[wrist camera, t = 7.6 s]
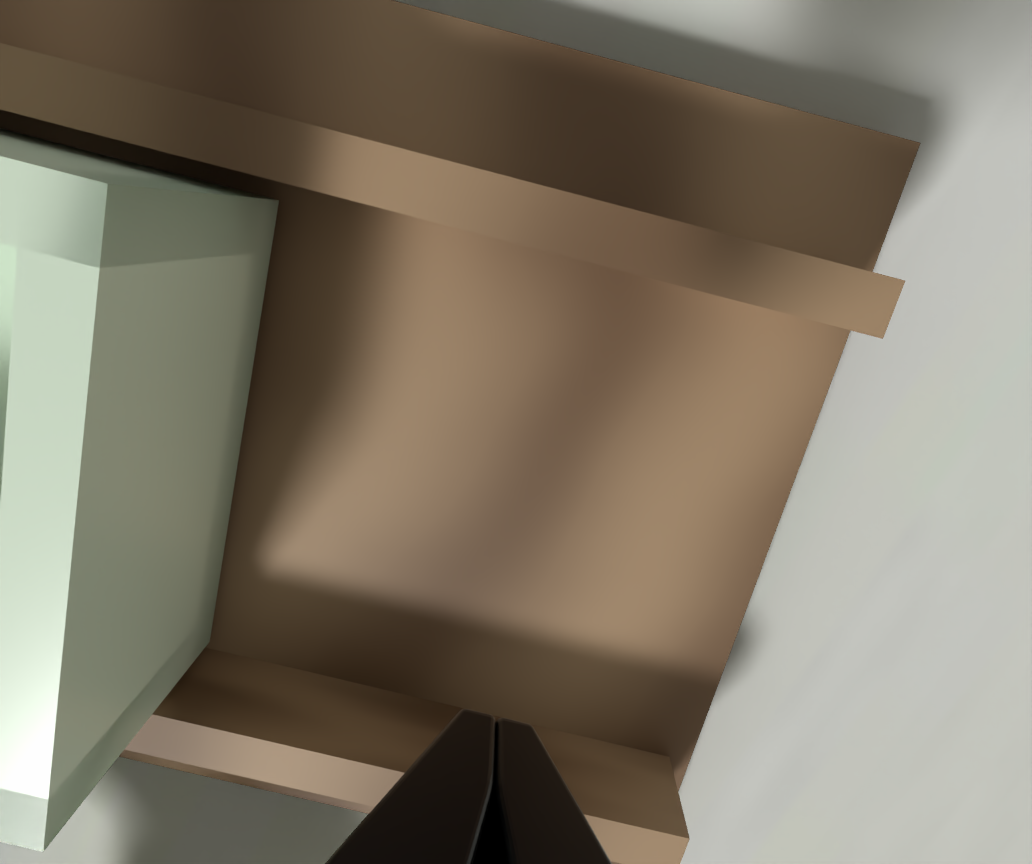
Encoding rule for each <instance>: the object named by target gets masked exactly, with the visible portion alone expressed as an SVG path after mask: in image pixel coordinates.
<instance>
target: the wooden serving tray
mask: <svg viewBox="0 0 1032 864" xmlns="http://www.w3.org/2000/svg"><path fill="white" fill-rule="evenodd" d="M0 128H2V129H6V130H10V131H13V132H17V133H21V134H25V135H29V136H33V137H37V138H41V139H44V140H48V141H52V142H56V143H60V144H64V145H68V146H71V147H75V148H79V149H83V150H87V151H91V152H95V153H99V154H102V155H106V156H110V157H114V158H118V159H122V160H126V161H129V162H133V163H137V164H141V165H145V166H149V167H153V168H156V169H160V170H164V171H168V172H172V173H176V174H180V175H184V176H187V177H191V178H195V179H199V180H203V181H207V182H211V183H214V184H218V185H222V186H226V187H230V188H234V189H238V190H242V191H245V192H249V193H253V194H257V195H261V196H265V197H269V198H272V199H276V200H279V204H278V210H277V216H276V223H275V229H274V236H273V242H272V248H271V255H270V261H269V267H268V274H267V280H266V286H265V293H264V299H263V306H262V312H261V318H260V325H259V331H258V337H257V344H256V350H255V357H254V363H253V369H252V376H251V382H250V388H249V395H248V401H247V407H246V414H245V420H244V427H243V433H242V439H241V446H240V452H239V458H238V465H237V471H236V478H235V484H234V490H233V497H232V503H231V509H230V516H229V522H228V528H227V535H226V541H225V548H224V554H223V560H222V567H221V573H220V579H219V586H218V592H217V599H216V605H215V611H214V618H213V624H212V630H211V637H210V642H209V643H208V644H207V646H206V647H205V648H204V649H203V651H202V652H201V653H200V654H199V656H198V657H197V658H196V659H195V661H194V662H193V663H192V665H191V666H190V667H189V668H188V670H187V671H186V672H185V673H184V675H183V676H182V677H181V678H180V680H179V681H178V682H177V683H176V685H175V686H174V687H173V689H172V690H171V691H170V692H169V694H168V695H167V696H166V697H165V699H164V700H163V701H162V702H161V704H160V705H159V706H158V707H157V709H156V710H155V711H154V712H153V714H152V715H151V716H150V718H149V719H148V720H147V721H146V723H145V724H144V725H143V726H142V728H141V729H140V730H139V731H138V733H137V734H136V735H135V736H134V738H133V739H132V740H131V742H130V743H129V744H128V745H127V747H126V748H125V749H124V750H123V752H122V753H121V754H120V755H119V757H124V758H128V759H132V760H137V761H141V762H145V763H150V764H154V765H158V766H163V767H167V768H172V769H176V770H180V771H185V772H189V773H193V774H198V775H202V776H206V777H211V778H215V779H220V780H224V781H228V782H233V783H237V784H241V785H246V786H250V787H254V788H259V789H263V790H268V791H272V792H276V793H281V794H285V795H289V796H294V797H298V798H302V799H307V800H311V801H316V802H320V803H324V804H329V805H333V806H337V807H342V808H346V809H350V810H355V811H359V812H364V813H368V814H369V813H370V812H371V811H372V810H373V809H374V807H375V806H376V805H377V804H378V803H379V802H380V801H381V799H382V798H383V797H384V796H385V795H386V794H387V793H388V792H389V790H390V789H391V788H392V787H393V786H394V785H395V784H396V782H397V781H398V780H399V779H400V778H401V777H402V776H403V774H404V773H405V772H406V771H407V770H408V769H409V768H410V767H411V765H412V764H413V763H414V762H415V761H416V760H417V759H418V757H419V756H420V755H421V754H422V753H423V752H424V751H425V749H426V748H427V747H428V746H429V745H430V744H431V743H432V742H433V740H434V739H435V738H436V737H437V736H438V735H439V734H440V732H441V731H442V730H443V729H444V728H445V727H446V726H447V724H448V723H449V722H450V721H451V720H452V719H453V718H454V717H455V715H456V714H457V713H458V712H459V711H460V710H462V709H470V710H474V711H478V712H482V713H486V714H490V715H493V717H494V718H495V720H496V721H497V720H498V719H499V718H507V719H512V720H516V721H520V722H524V723H528V724H530V725H532V726H533V727H534V729H535V731H536V732H537V734H538V736H539V737H540V739H541V741H542V743H543V744H544V746H545V748H546V750H547V751H548V753H549V755H550V757H551V758H552V760H553V762H554V764H555V765H556V767H557V769H558V771H559V772H560V774H561V776H562V778H563V779H564V781H565V783H566V784H567V786H568V788H569V790H570V791H571V793H572V795H573V797H574V798H575V800H576V802H577V804H578V805H579V807H580V809H581V811H582V812H583V814H584V816H585V818H586V819H587V821H588V823H589V824H590V826H591V828H592V830H593V831H594V833H595V835H596V837H597V838H598V840H599V842H600V844H601V845H602V847H603V849H604V851H605V852H606V854H607V856H608V858H609V859H610V861H611V863H612V864H680V862H681V860H682V857H683V854H684V852H685V849H686V847H687V844H688V842H689V834H688V830H687V826H686V822H685V818H684V814H683V810H682V806H681V802H680V798H679V794H678V791H679V788H680V785H681V783H682V780H683V777H684V775H685V772H686V769H687V767H688V764H689V761H690V759H691V756H692V753H693V751H694V748H695V745H696V743H697V740H698V737H699V735H700V732H701V729H702V727H703V724H704V721H705V719H706V716H707V713H708V710H709V708H710V705H711V702H712V700H713V697H714V694H715V692H716V689H717V686H718V684H719V681H720V678H721V676H722V673H723V670H724V668H725V665H726V662H727V660H728V657H729V654H730V652H731V649H732V646H733V644H734V641H735V638H736V636H737V633H738V630H739V627H740V625H741V622H742V619H743V617H744V614H745V611H746V609H747V606H748V603H749V601H750V598H751V595H752V593H753V590H754V587H755V585H756V582H757V579H758V577H759V574H760V571H761V569H762V566H763V563H764V561H765V558H766V555H767V552H768V550H769V547H770V544H771V542H772V539H773V536H774V534H775V531H776V528H777V526H778V523H779V520H780V518H781V515H782V512H783V510H784V507H785V504H786V502H787V499H788V496H789V494H790V491H791V488H792V486H793V483H794V480H795V478H796V475H797V472H798V469H799V467H800V464H801V461H802V459H803V456H804V453H805V451H806V448H807V445H808V443H809V440H810V437H811V435H812V432H813V429H814V427H815V424H816V421H817V419H818V416H819V413H820V411H821V408H822V405H823V403H824V400H825V397H826V395H827V392H828V389H829V386H830V384H831V381H832V378H833V376H834V373H835V370H836V368H837V365H838V362H839V360H840V357H841V354H842V352H843V349H844V346H845V344H846V341H847V338H848V336H849V333H850V330H851V331H855V332H859V333H863V334H867V335H871V336H875V337H878V338H882V339H883V337H884V334H885V332H886V329H887V327H888V324H889V321H890V319H891V316H892V314H893V311H894V309H895V306H896V303H897V301H898V298H899V296H900V293H901V290H902V288H903V285H904V283H905V281H904V280H901V279H897V278H893V277H889V276H885V275H882V274H878V273H874V272H872V271H873V269H874V266H875V263H876V261H877V258H878V255H879V253H880V250H881V247H882V245H883V242H884V239H885V237H886V234H887V231H888V229H889V226H890V223H891V220H892V218H893V215H894V212H895V210H896V207H897V204H898V202H899V199H900V196H901V194H902V191H903V188H904V186H905V183H906V180H907V178H908V175H909V172H910V170H911V167H912V164H913V162H914V159H915V156H916V154H917V151H918V148H919V146H920V143H919V142H915V141H912V140H908V139H904V138H900V137H897V136H893V135H889V134H886V133H882V132H878V131H875V130H871V129H867V128H863V127H860V126H856V125H852V124H849V123H845V122H841V121H838V120H834V119H830V118H826V117H823V116H819V115H815V114H812V113H808V112H804V111H800V110H797V109H793V108H789V107H786V106H782V105H778V104H775V103H771V102H767V101H763V100H760V99H756V98H752V97H749V96H745V95H741V94H738V93H734V92H730V91H726V90H723V89H719V88H715V87H712V86H708V85H704V84H701V83H697V82H693V81H689V80H686V79H682V78H678V77H675V76H671V75H667V74H664V73H660V72H656V71H652V70H649V69H645V68H641V67H638V66H634V65H630V64H627V63H623V62H619V61H615V60H612V59H608V58H604V57H601V56H597V55H593V54H590V53H586V52H582V51H578V50H575V49H571V48H567V47H564V46H560V45H556V44H553V43H549V42H545V41H541V40H538V39H534V38H530V37H527V36H523V35H519V34H516V33H512V32H508V31H504V30H501V29H497V28H493V27H490V26H486V25H482V24H479V23H475V22H471V21H467V20H464V19H460V18H456V17H453V16H449V15H445V14H442V13H438V12H434V11H430V10H427V9H423V8H419V7H416V6H412V5H408V4H405V3H401V2H397V1H393V0H0Z"/></svg>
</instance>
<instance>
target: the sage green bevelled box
mask: <svg viewBox="0 0 1032 864" xmlns="http://www.w3.org/2000/svg"><path fill="white" fill-rule="evenodd" d="M278 204H279V200H276V199H272V198H269V197H265V196H261V195H257V194H253V193H249V192H245V191H242V190H238V189H234V188H230V187H226V186H222V185H218V184H214V183H211V182H207V181H203V180H199V179H195V178H191V177H187V176H184V175H180V174H176V173H172V172H168V171H164V170H160V169H156V168H153V167H149V166H145V165H141V164H137V163H133V162H129V161H126V160H122V159H118V158H114V157H110V156H106V155H102V154H99V153H95V152H91V151H87V150H83V149H79V148H75V147H71V146H68V145H64V144H60V143H56V142H52V141H48V140H44V139H41V138H37V137H33V136H29V135H25V134H21V133H17V132H13V131H10V130H6V129H2V128H0V842H2V843H6V844H11V845H15V846H19V847H24V848H28V849H33V850H37V851H42V852H43V851H44V850H45V849H46V848H47V846H48V845H49V844H50V843H51V841H52V840H53V839H54V837H55V836H56V835H57V834H58V832H59V831H60V830H61V829H62V827H63V826H64V825H65V824H66V822H67V821H68V820H69V819H70V817H71V816H72V815H73V813H74V812H75V811H76V810H77V808H78V807H79V806H80V805H81V803H82V802H83V801H84V800H85V798H86V797H87V796H88V795H89V793H90V792H91V791H92V790H93V788H94V787H95V786H96V784H97V783H98V782H99V781H100V779H101V778H102V777H103V776H104V774H105V773H106V772H107V771H108V769H109V768H110V767H111V766H112V764H113V763H114V762H115V760H116V759H117V758H118V757H119V755H120V754H121V753H122V752H123V750H124V749H125V748H126V747H127V745H128V744H129V743H130V742H131V740H132V739H133V738H134V736H135V735H136V734H137V733H138V731H139V730H140V729H141V728H142V726H143V725H144V724H145V723H146V721H147V720H148V719H149V718H150V716H151V715H152V714H153V712H154V711H155V710H156V709H157V707H158V706H159V705H160V704H161V702H162V701H163V700H164V699H165V697H166V696H167V695H168V694H169V692H170V691H171V690H172V689H173V687H174V686H175V685H176V683H177V682H178V681H179V680H180V678H181V677H182V676H183V675H184V673H185V672H186V671H187V670H188V668H189V667H190V666H191V665H192V663H193V662H194V661H195V659H196V658H197V657H198V656H199V654H200V653H201V652H202V651H203V649H204V648H205V647H206V646H207V644H208V643H209V642H210V637H211V630H212V624H213V618H214V611H215V605H216V599H217V592H218V586H219V579H220V573H221V567H222V560H223V554H224V548H225V541H226V535H227V528H228V522H229V516H230V509H231V503H232V497H233V490H234V484H235V478H236V471H237V465H238V458H239V452H240V446H241V439H242V433H243V427H244V420H245V414H246V407H247V401H248V395H249V388H250V382H251V376H252V369H253V363H254V357H255V350H256V344H257V337H258V331H259V325H260V318H261V312H262V306H263V299H264V293H265V286H266V280H267V274H268V267H269V261H270V255H271V248H272V242H273V236H274V229H275V223H276V216H277V210H278Z"/></svg>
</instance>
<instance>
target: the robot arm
mask: <svg viewBox="0 0 1032 864" xmlns="http://www.w3.org/2000/svg"><path fill="white" fill-rule="evenodd" d="M325 864H612V863H611V861H610V859H609V858H608V856H607V854H606V852H605V851H604V849H603V847H602V845H601V844H600V842H599V840H598V838H597V837H596V835H595V833H594V831H593V830H592V828H591V826H590V824H589V823H588V821H587V819H586V818H585V816H584V814H583V812H582V811H581V809H580V807H579V805H578V804H577V802H576V800H575V798H574V797H573V795H572V793H571V791H570V790H569V788H568V786H567V784H566V783H565V781H564V779H563V778H562V776H561V774H560V772H559V771H558V769H557V767H556V765H555V764H554V762H553V760H552V758H551V757H550V755H549V753H548V751H547V750H546V748H545V746H544V744H543V743H542V741H541V739H540V737H539V736H538V734H537V732H536V731H535V729H534V727H533V726H532V725H530V724H528V723H524V722H520V721H516V720H512V719H507V718H499V719H498V720H497V721H496V720H495V718H494V717H493V715H490V714H486V713H482V712H478V711H474V710H470V709H462V710H460V711H459V712H458V713H457V714H456V715H455V717H454V718H453V719H452V720H451V721H450V722H449V723H448V724H447V726H446V727H445V728H444V729H443V730H442V731H441V732H440V734H439V735H438V736H437V737H436V738H435V739H434V740H433V742H432V743H431V744H430V745H429V746H428V747H427V748H426V749H425V751H424V752H423V753H422V754H421V755H420V756H419V757H418V759H417V760H416V761H415V762H414V763H413V764H412V765H411V767H410V768H409V769H408V770H407V771H406V772H405V773H404V774H403V776H402V777H401V778H400V779H399V780H398V781H397V782H396V784H395V785H394V786H393V787H392V788H391V789H390V790H389V792H388V793H387V794H386V795H385V796H384V797H383V798H382V799H381V801H380V802H379V803H378V804H377V805H376V806H375V807H374V809H373V810H372V811H371V812H370V813H369V814H368V815H367V817H366V818H365V819H364V820H363V821H362V822H361V823H360V824H359V826H358V827H357V828H356V829H355V830H354V831H353V832H352V834H351V835H350V836H349V837H348V838H347V839H346V840H345V842H344V843H343V844H342V845H341V846H340V847H339V848H338V849H337V851H336V852H335V853H334V854H333V855H332V856H331V857H330V859H329V860H328V861H327V862H326V863H325Z"/></svg>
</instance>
